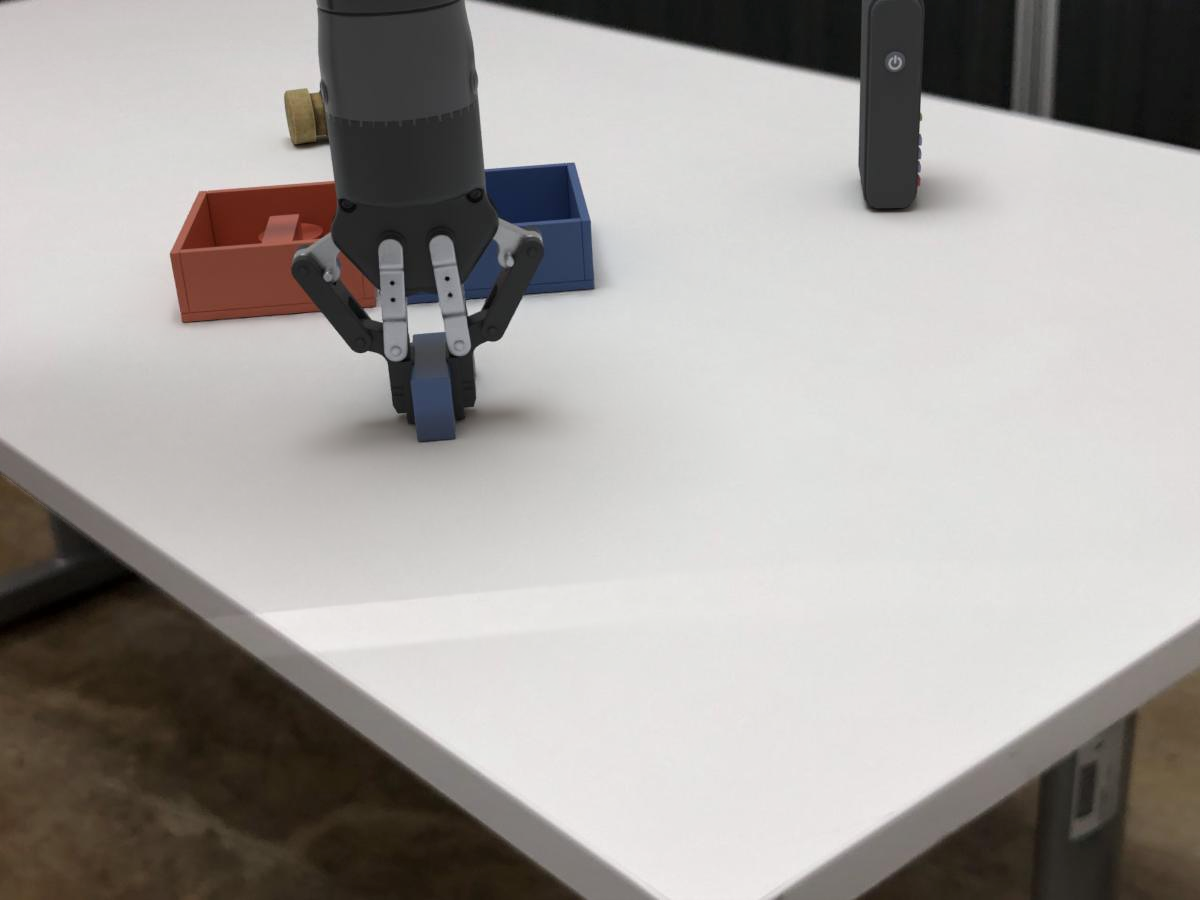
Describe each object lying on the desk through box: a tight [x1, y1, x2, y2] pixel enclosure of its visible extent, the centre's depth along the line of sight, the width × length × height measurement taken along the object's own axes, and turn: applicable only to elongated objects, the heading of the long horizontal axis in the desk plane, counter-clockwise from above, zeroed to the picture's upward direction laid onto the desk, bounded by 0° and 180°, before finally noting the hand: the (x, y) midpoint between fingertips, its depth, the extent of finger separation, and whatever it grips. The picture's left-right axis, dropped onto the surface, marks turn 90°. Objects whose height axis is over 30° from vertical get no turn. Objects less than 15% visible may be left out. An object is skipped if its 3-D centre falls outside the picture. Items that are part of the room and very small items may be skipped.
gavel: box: [283, 87, 329, 145], centre depth 130 cm, size 21×5×10 cm
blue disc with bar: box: [410, 331, 477, 442], centre depth 86 cm, size 10×4×4 cm, turn 5°
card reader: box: [857, 0, 926, 209], centre depth 112 cm, size 9×4×15 cm, turn 174°
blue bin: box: [407, 161, 596, 305], centre depth 105 cm, size 12×13×5 cm
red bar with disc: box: [258, 214, 324, 244], centre depth 104 cm, size 10×4×4 cm, turn 5°
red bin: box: [169, 180, 378, 323], centre depth 104 cm, size 12×13×5 cm
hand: (436, 413), depth 84 cm, fingers closed on blue disc with bar, 2 cm apart
